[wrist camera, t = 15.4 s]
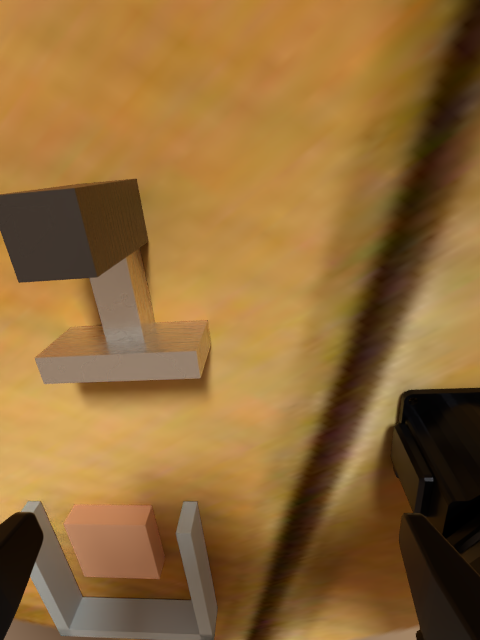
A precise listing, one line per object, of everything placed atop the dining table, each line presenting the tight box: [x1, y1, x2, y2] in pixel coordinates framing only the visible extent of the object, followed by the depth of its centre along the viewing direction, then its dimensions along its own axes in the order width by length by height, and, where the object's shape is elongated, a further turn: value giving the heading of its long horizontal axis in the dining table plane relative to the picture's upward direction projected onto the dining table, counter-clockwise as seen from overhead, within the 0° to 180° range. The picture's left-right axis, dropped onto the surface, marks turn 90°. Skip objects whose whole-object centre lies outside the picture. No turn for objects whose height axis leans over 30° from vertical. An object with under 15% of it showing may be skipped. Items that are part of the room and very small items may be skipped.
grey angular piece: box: [0, 179, 211, 384], centre depth 16 cm, size 8×9×6 cm
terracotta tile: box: [64, 505, 165, 579], centre depth 27 cm, size 6×6×2 cm
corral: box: [21, 501, 218, 640], centre depth 28 cm, size 13×13×2 cm
